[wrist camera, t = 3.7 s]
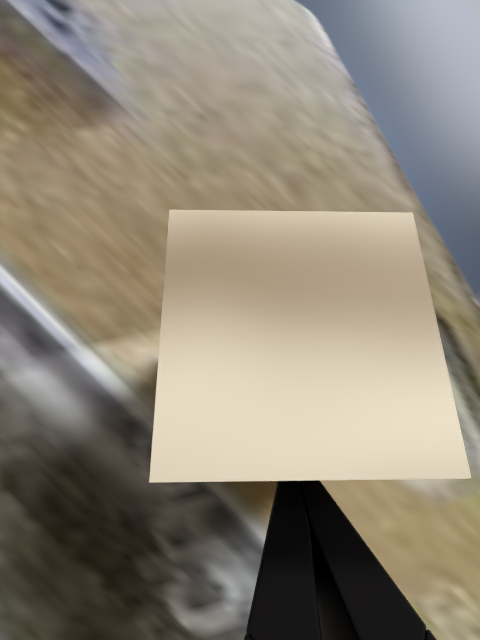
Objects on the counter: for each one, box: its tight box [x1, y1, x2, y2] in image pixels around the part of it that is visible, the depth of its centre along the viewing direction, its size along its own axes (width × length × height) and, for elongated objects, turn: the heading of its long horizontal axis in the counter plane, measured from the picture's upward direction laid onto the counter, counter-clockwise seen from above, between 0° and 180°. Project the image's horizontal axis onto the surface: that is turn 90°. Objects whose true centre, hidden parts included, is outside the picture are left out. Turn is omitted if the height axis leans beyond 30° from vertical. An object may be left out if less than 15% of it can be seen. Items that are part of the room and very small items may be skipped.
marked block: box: [149, 210, 471, 483], centre depth 12 cm, size 6×6×10 cm
